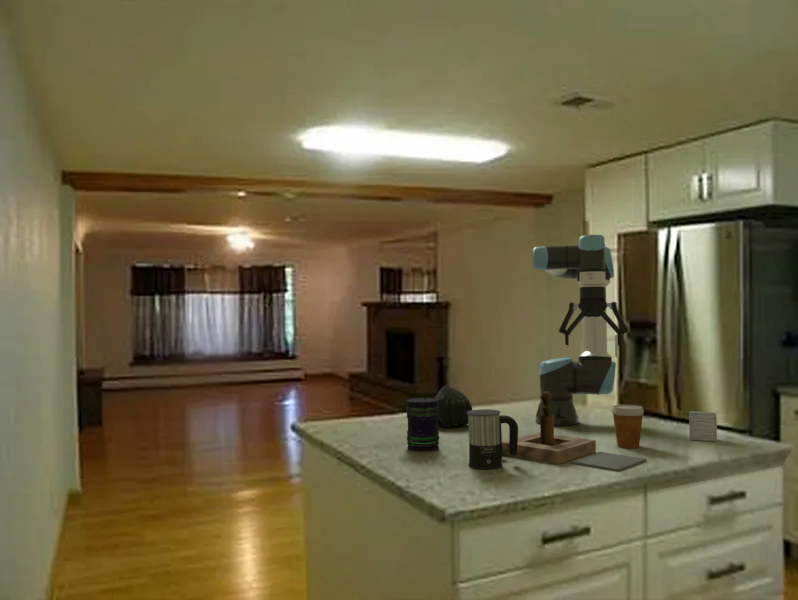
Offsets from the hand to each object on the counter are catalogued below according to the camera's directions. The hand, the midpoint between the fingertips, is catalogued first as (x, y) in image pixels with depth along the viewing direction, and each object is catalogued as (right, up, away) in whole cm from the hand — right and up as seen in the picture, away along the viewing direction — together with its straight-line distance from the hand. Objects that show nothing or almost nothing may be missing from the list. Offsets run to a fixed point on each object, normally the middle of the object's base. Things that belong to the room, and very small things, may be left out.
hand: (593, 356), depth 214 cm
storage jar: (-51, -29, +3) cm, 59 cm away
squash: (-40, -28, +41) cm, 64 cm away
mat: (-1, -27, -19) cm, 34 cm away
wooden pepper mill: (-15, -28, -7) cm, 33 cm away
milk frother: (-34, -28, -17) cm, 48 cm away
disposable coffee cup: (+11, -28, +1) cm, 30 cm away
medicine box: (+37, -27, +9) cm, 47 cm away
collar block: (-15, -28, -7) cm, 32 cm away
